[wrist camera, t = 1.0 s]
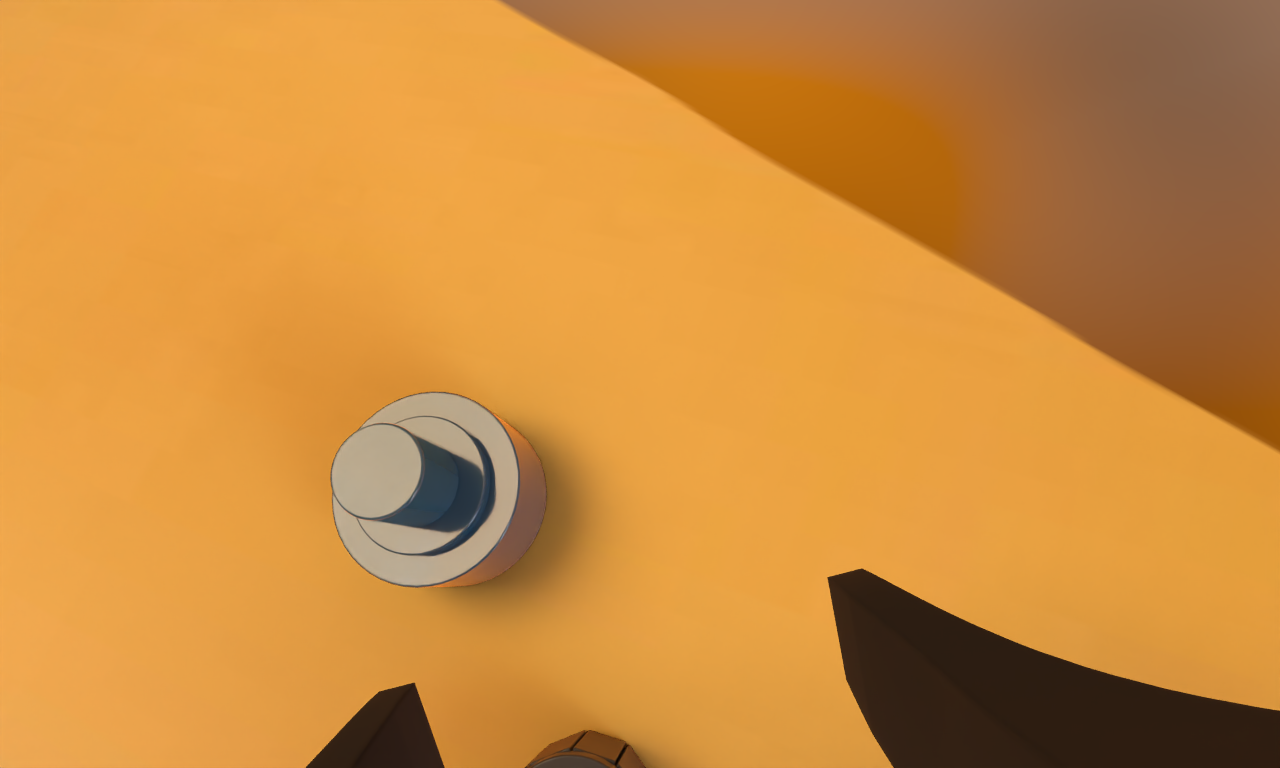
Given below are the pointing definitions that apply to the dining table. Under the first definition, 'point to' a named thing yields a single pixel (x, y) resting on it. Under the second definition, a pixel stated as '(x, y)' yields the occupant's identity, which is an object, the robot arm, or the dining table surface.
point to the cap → (587, 753)
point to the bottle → (437, 493)
